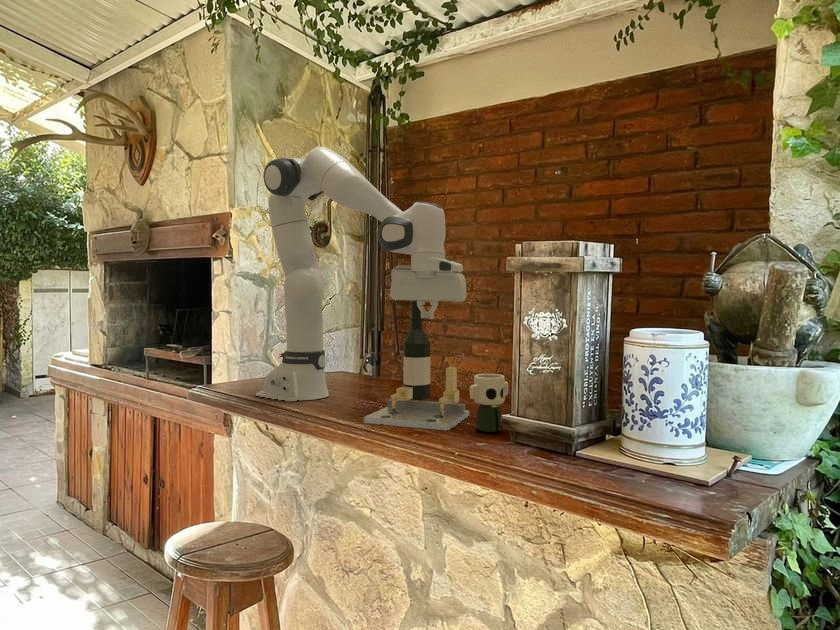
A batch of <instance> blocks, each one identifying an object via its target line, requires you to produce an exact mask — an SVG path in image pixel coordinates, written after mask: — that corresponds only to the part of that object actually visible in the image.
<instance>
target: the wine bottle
mask: <svg viewBox="0 0 840 630" xmlns="http://www.w3.org/2000/svg"><path fill="white" fill-rule="evenodd" d="M410 304H411V306H410V309H411V313H410V316H411V317H410V318H411V321H410V324H411V325H410V327H411V329H410V331H409V332H408V334H407V335H406V338H405V339H404V341H403V355H402V356H403V364H402V365H403V372H402V373H403V375H402V377H403V387H413V398H412V399H411V400H425V399H426V400H427V399H429V398H431V342H430V340H429V338H428V337H427V335H426V333H425V331H424V329H423V318H421V311H420V310H419V308H418V306H417V300H412V301H411V302H410Z"/></svg>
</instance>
